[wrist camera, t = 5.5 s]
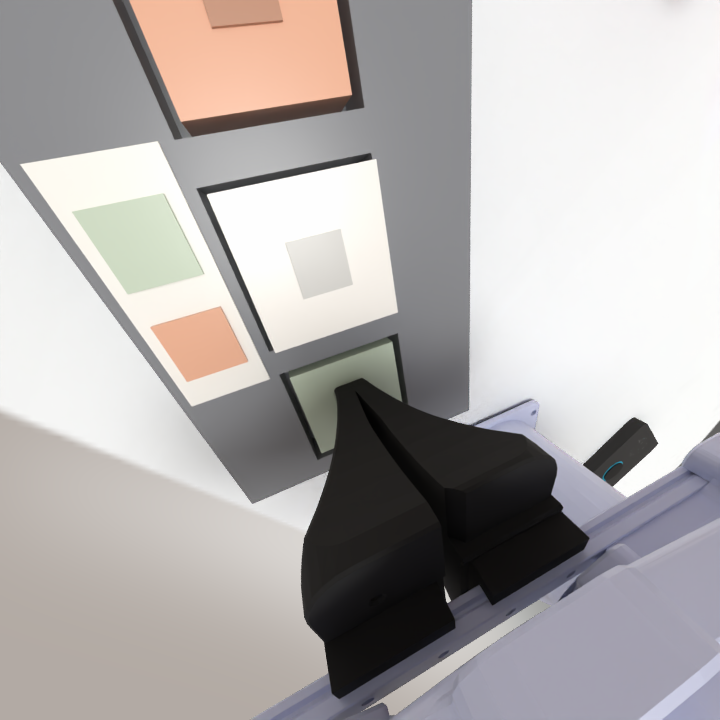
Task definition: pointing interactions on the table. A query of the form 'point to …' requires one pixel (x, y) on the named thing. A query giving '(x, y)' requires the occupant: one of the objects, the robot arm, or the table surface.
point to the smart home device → (622, 451)
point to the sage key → (337, 370)
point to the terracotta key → (247, 60)
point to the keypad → (234, 170)
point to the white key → (311, 251)
